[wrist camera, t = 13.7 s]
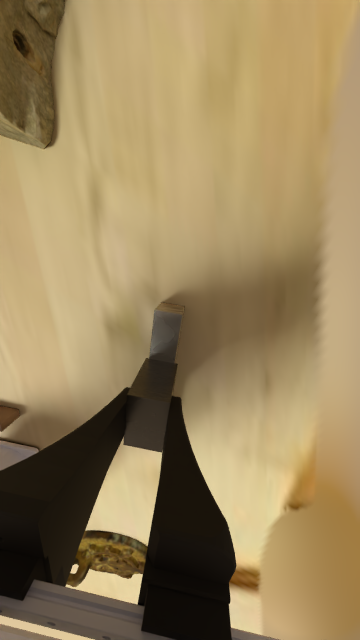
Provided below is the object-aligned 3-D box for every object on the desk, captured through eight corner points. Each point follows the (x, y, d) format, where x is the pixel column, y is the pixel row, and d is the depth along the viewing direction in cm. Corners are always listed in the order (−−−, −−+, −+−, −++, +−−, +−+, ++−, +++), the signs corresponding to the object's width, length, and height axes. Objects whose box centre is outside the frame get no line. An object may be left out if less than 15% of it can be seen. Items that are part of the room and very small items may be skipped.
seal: (160, 528, 28) (69, 514, 29) (154, 577, 23) (45, 558, 24) (157, 568, 30) (72, 554, 30) (151, 621, 25) (50, 602, 26)
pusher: (169, 416, 19) (155, 492, 12) (146, 411, 19) (121, 484, 13) (187, 306, 15) (181, 338, 9) (158, 301, 15) (130, 329, 9)
